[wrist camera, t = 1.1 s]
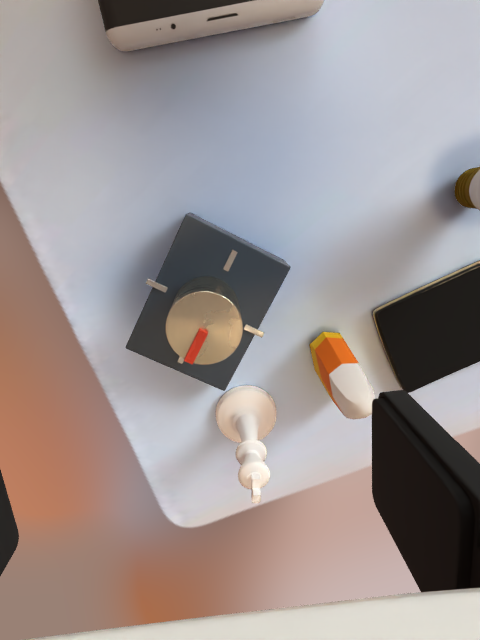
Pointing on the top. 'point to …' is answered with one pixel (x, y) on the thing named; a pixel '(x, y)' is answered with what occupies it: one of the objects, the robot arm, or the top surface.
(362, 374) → the candy corn
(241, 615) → the robot arm
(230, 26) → the tablet
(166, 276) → the control panel
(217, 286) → the dial knob
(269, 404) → the chess piece
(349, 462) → the top surface
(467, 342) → the smartphone
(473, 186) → the light bulb
